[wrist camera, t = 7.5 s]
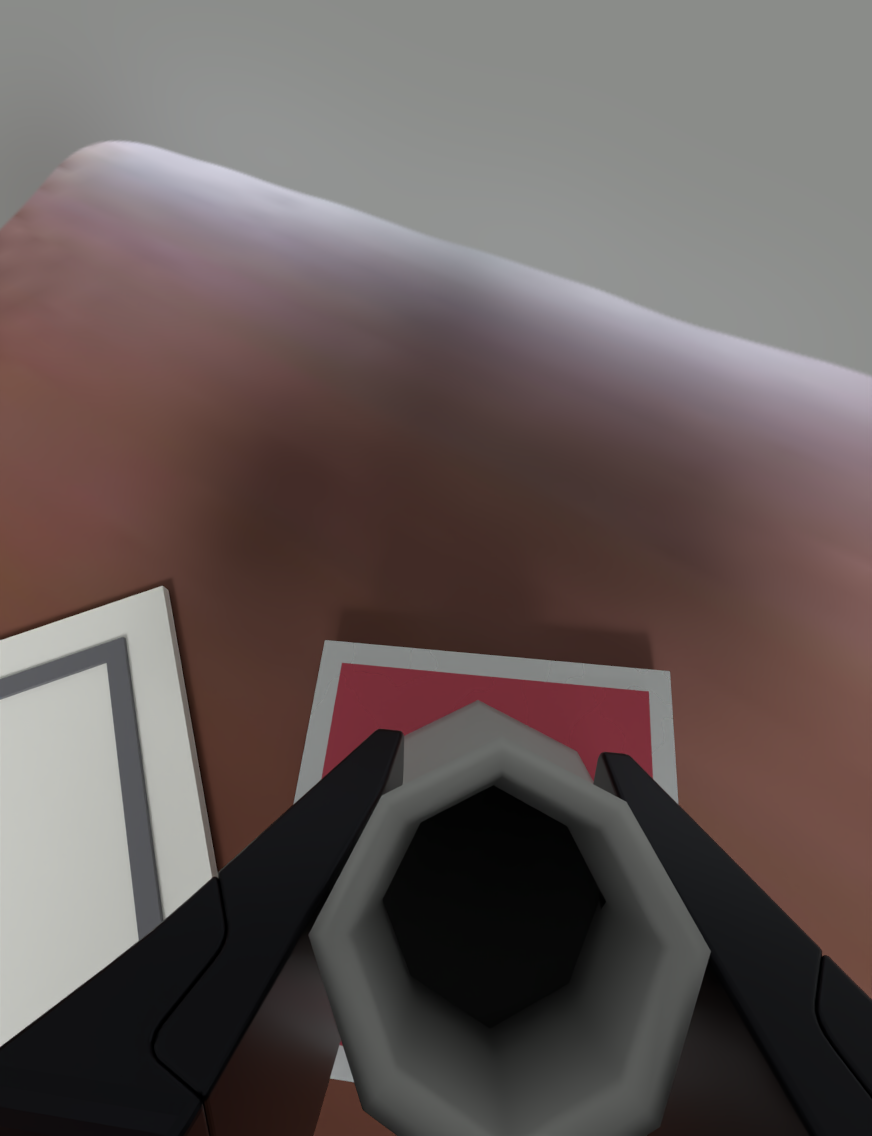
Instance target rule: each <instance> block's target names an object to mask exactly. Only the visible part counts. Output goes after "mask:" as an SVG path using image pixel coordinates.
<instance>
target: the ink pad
mask: <svg viewBox="0 0 872 1136" xmlns="http://www.w3.org/2000/svg"><path fill="white" fill-rule="evenodd" d="M477 700H479V701H481V702H483V703H485V704H487V705H489V706H491V707H493V708H495V709H496V710H498V711H500V712H502V713H504V714H506V715H508V716H510V717H512V718H514V719H516V720H518V721H520V722H521V723H523V724H525V725H527V726H529V727H531V728H533V729H535V730H537V731H539V732H541V733H543V734H545V735H546V736H548V737H550V738H552V739H554V740H556V741H558V742H560V743H562V744H564V745H566V746H568V747H570V748H571V749H573V750H575V751H577V752H578V754H579V756H580V758H581V760H582V761H583V763H584V765H585V767H586V769H587V771H588V772H589V774H590V776H591V778H592V780H593V781H594V777H595V771H596V766H597V761H598V757H599V755H600V754H601V753H602V752H614V753H623V754H628V755H629V756H631V757H632V758H633V759H634V760H635V761H636V762H637V763H638V764H639V765H640V766H641V767H642V768H643V769H644V770H645V771H646V772H647V773H648V774H649V775H650V776H651V777H652V778H653V779H654V780H655V781H656V782H657V783H658V784H659V785H660V786H661V787H662V789H663V790H664V791H665V792H666V793H667V794H668V795H669V796H670V797H671V798H672V799H673V800H674V801H675V802H676V803H677V804H678V791H677V775H676V760H675V744H674V728H673V712H672V696H671V681H670V671H662V670H651V669H639V668H628V667H617V666H606V665H595V664H584V663H573V662H562V661H551V660H540V659H529V658H518V657H507V656H496V655H485V654H474V653H463V652H452V651H441V650H429V649H418V648H407V647H396V646H385V645H374V644H363V643H352V642H341V641H330V640H325V643H324V648H323V653H322V658H321V663H320V669H319V674H318V679H317V684H316V690H315V695H314V700H313V705H312V710H311V716H310V721H309V726H308V731H307V736H306V742H305V747H304V752H303V757H302V763H301V768H300V773H299V778H298V783H297V789H296V794H295V799H294V804H295V803H296V802H297V801H298V800H299V799H300V798H301V797H302V796H303V795H304V794H306V793H307V792H308V791H309V790H310V789H311V788H312V787H313V786H314V785H316V784H317V783H318V782H319V781H320V780H321V779H322V778H323V777H324V776H326V775H327V774H328V773H329V772H330V771H331V770H332V769H333V768H334V767H336V766H337V765H338V764H339V763H340V762H341V761H342V760H343V759H344V758H346V757H347V756H348V755H349V754H350V753H351V752H352V751H353V750H354V749H355V748H357V747H358V746H359V745H360V744H361V743H362V742H363V741H364V740H365V739H367V738H368V737H369V736H370V735H371V734H372V733H373V732H374V731H376V730H377V729H390V730H399V731H402V732H403V734H404V736H405V735H407V734H409V733H411V732H413V731H415V730H417V729H419V728H421V727H423V726H425V725H427V724H430V723H432V722H434V721H436V720H438V719H440V718H442V717H444V716H446V715H448V714H450V713H452V712H454V711H456V710H458V709H460V708H462V707H464V706H466V705H469V704H471V703H473V702H475V701H477ZM330 1078H331V1079H337V1080H343V1081H350V1082H354V1080H353V1077H352V1073H351V1070H350V1067H349V1064H348V1061H347V1057H346V1054H345V1051H344V1048H343V1045H342V1041H340V1045H339V1048H338V1052H337V1055H336V1059H335V1062H334V1066H333V1069H332V1072H331V1076H330Z"/></svg>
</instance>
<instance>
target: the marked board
mask: <svg viewBox="0 0 872 1136" xmlns="http://www.w3.org/2000/svg"><path fill="white" fill-rule="evenodd" d="M212 877H217V878H218V873H217V867H216V861H215V855H214V850H213V844H212V838H211V832H210V827H209V821H208V815H207V809H206V804H205V798H204V792H203V786H202V780H201V775H200V769H199V763H198V757H197V752H196V746H195V740H194V734H193V729H192V723H191V717H190V711H189V706H188V700H187V694H186V688H185V683H184V677H183V671H182V665H181V660H180V654H179V648H178V642H177V637H176V631H175V625H174V619H173V614H172V608H171V602H170V596H169V591H168V589H166V588H165V587H164V586H160V587H157V588H154V589H151V590H148V591H145V592H142V593H139V594H136V595H133V596H130V597H128V598H125V599H122V600H119V601H116V602H113V603H110V604H107V605H104V606H101V607H98V608H95V609H92V610H89V611H86V612H83V613H80V614H77V615H74V616H71V617H68V618H65V619H62V620H59V621H56V622H53V623H50V624H48V625H45V626H42V627H39V628H36V629H33V630H30V631H27V632H24V633H21V634H18V635H15V636H12V637H9V638H6V639H3V640H0V1046H2V1045H3V1044H4V1043H6V1042H7V1041H8V1040H10V1039H11V1038H12V1037H13V1036H15V1035H16V1034H17V1033H19V1032H20V1031H21V1030H23V1029H24V1028H25V1027H27V1026H28V1025H29V1024H31V1023H32V1022H33V1021H35V1020H36V1019H37V1018H39V1017H40V1016H41V1015H43V1014H44V1013H45V1012H46V1011H48V1010H49V1009H50V1008H52V1007H53V1006H54V1005H56V1004H57V1003H58V1002H60V1001H61V1000H62V999H64V998H65V997H66V996H68V995H69V994H70V993H72V992H73V991H74V990H76V989H77V988H78V987H79V986H81V985H82V984H83V983H85V982H86V981H87V980H89V979H90V978H91V977H93V976H94V975H95V974H97V973H98V972H99V971H101V970H102V969H103V968H105V967H106V966H107V965H108V964H110V963H111V962H112V961H113V960H115V959H116V958H117V957H119V956H120V955H121V954H122V953H124V952H125V951H126V950H127V949H129V948H130V947H131V946H132V945H134V944H135V943H136V942H138V941H139V940H140V939H141V938H143V937H144V936H145V935H146V934H148V933H149V932H150V931H151V930H153V929H154V928H155V927H156V926H157V925H159V924H160V923H161V922H162V921H163V920H164V919H165V918H167V917H168V916H169V915H170V914H171V913H172V912H174V911H175V910H176V909H177V908H178V907H179V906H181V905H182V904H183V903H184V902H185V901H186V900H188V899H189V898H190V897H191V896H192V895H193V894H194V893H195V892H197V891H198V890H199V889H200V888H201V887H202V886H203V885H204V884H205V883H207V882H208V881H209V880H210V879H211V878H212Z"/></svg>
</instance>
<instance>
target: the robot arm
mask: <svg viewBox="0 0 872 1136" xmlns="http://www.w3.org/2000/svg"><path fill="white" fill-rule="evenodd" d="M403 772H404V734H403V732H402V731H399V730H390V729H377V730H376V731H374V732H373V733H372V734H371V735H370V736H369V737H368V738H367V739H365V740H364V741H363V742H362V743H361V744H360V745H359V746H358V747H357V748H355V749H354V750H353V751H352V752H351V753H350V754H349V755H348V756H347V757H346V758H344V759H343V760H342V761H341V762H340V763H339V764H338V765H337V766H336V767H334V768H333V769H332V770H331V771H330V772H329V773H328V774H327V775H326V776H324V777H323V778H322V779H321V780H320V781H319V782H318V783H317V784H316V785H314V786H313V787H312V788H311V789H310V790H309V791H308V792H307V793H306V794H304V795H303V796H302V797H301V798H300V799H299V800H298V801H297V802H296V803H295V804H293V805H292V806H291V807H290V808H289V809H288V810H287V811H286V812H285V813H283V814H282V815H281V816H280V817H279V818H278V819H277V820H276V821H275V822H273V823H272V824H271V825H270V826H269V827H268V828H267V829H266V830H265V831H263V832H262V833H261V834H260V835H259V836H258V837H257V838H256V839H255V840H253V841H252V842H251V843H250V844H249V845H248V846H247V847H246V848H245V849H243V850H242V851H241V852H240V853H239V854H238V855H237V856H236V857H235V858H234V859H232V860H231V861H230V862H229V863H228V864H227V865H226V866H225V867H224V868H222V869H221V870H220V871H219V872H218V878H217V877H212V878H211V879H210V880H209V881H208V882H207V883H205V884H204V885H203V886H202V887H201V888H200V889H199V890H198V891H197V892H195V893H194V894H193V895H192V896H191V897H190V898H189V899H188V900H186V901H185V902H184V903H183V904H182V905H181V906H179V907H178V908H177V909H176V910H175V911H174V912H172V913H171V914H170V915H169V916H168V917H167V918H165V919H164V920H163V921H162V922H161V923H160V924H159V925H157V926H156V927H155V928H154V929H153V930H151V931H150V932H149V933H148V934H146V935H145V936H144V937H143V938H141V939H140V940H139V941H138V942H136V943H135V944H134V945H132V946H131V947H130V948H129V949H127V950H126V951H125V952H124V953H122V954H121V955H120V956H119V957H117V958H116V959H115V960H113V961H112V962H111V963H110V964H108V965H107V966H106V967H105V968H103V969H102V970H101V971H99V972H98V973H97V974H95V975H94V976H93V977H91V978H90V979H89V980H87V981H86V982H85V983H83V984H82V985H81V986H79V987H78V988H77V989H76V990H74V991H73V992H72V993H70V994H69V995H68V996H66V997H65V998H64V999H62V1000H61V1001H60V1002H58V1003H57V1004H56V1005H54V1006H53V1007H52V1008H50V1009H49V1010H48V1011H46V1012H45V1013H44V1014H43V1015H41V1016H40V1017H39V1018H37V1019H36V1020H35V1021H33V1022H32V1023H31V1024H29V1025H28V1026H27V1027H25V1028H24V1029H23V1030H21V1031H20V1032H19V1033H17V1034H16V1035H15V1036H13V1037H12V1038H11V1039H10V1040H8V1041H7V1042H6V1043H4V1044H3V1045H2V1046H0V1136H313V1135H314V1131H315V1128H316V1124H317V1121H318V1117H319V1114H320V1110H321V1107H322V1104H323V1100H324V1097H325V1093H326V1090H327V1086H328V1083H329V1079H330V1076H331V1072H332V1069H333V1066H334V1062H335V1059H336V1055H337V1052H338V1048H339V1045H340V1041H341V1038H340V1035H339V1032H338V1029H337V1025H336V1022H335V1019H334V1016H333V1013H332V1009H331V1006H330V1003H329V1000H328V996H327V993H326V990H325V987H324V984H323V980H322V977H321V974H320V971H319V968H318V964H317V961H316V958H315V955H314V952H313V948H312V945H311V942H310V939H309V936H308V935H309V933H310V931H311V929H312V927H313V925H314V923H315V921H316V919H317V917H318V916H319V914H320V912H321V910H322V908H323V906H324V904H325V902H326V900H327V899H328V897H329V895H330V893H331V891H332V889H333V887H334V885H335V883H336V881H337V880H338V878H339V876H340V874H341V872H342V870H343V868H344V866H345V864H346V862H347V861H348V859H349V857H350V855H351V853H352V851H353V849H354V847H355V845H356V844H357V842H358V840H359V838H360V836H361V834H362V832H363V830H364V828H365V826H366V825H367V823H368V821H369V819H370V817H371V815H372V813H373V811H374V809H375V807H376V806H377V804H378V802H379V800H380V798H381V796H382V795H384V794H386V793H388V792H390V791H392V790H394V789H396V788H398V787H400V786H402V785H403ZM593 784H594V785H596V786H597V787H599V788H601V789H603V790H605V791H607V792H609V793H611V794H612V795H614V796H616V797H618V798H620V799H622V800H624V801H626V802H627V804H628V806H629V807H630V809H631V811H632V813H633V814H634V816H635V818H636V820H637V822H638V823H639V825H640V827H641V829H642V830H643V832H644V834H645V836H646V837H647V839H648V841H649V843H650V845H651V846H652V848H653V850H654V852H655V853H656V855H657V857H658V859H659V860H660V862H661V864H662V866H663V867H664V869H665V871H666V873H667V875H668V876H669V878H670V880H671V882H672V883H673V885H674V887H675V889H676V890H677V892H678V894H679V896H680V898H681V899H682V901H683V903H684V905H685V906H686V908H687V910H688V912H689V913H690V915H691V917H692V919H693V921H694V922H695V924H696V926H697V928H698V929H699V931H700V933H701V935H702V936H703V938H704V940H705V942H706V944H707V945H708V947H709V949H710V951H711V953H710V956H709V959H708V963H707V966H706V970H705V973H704V977H703V980H702V984H701V987H700V991H699V994H698V997H697V1001H696V1004H695V1008H694V1011H693V1015H692V1018H691V1022H690V1025H689V1029H688V1032H687V1036H686V1039H685V1042H684V1046H683V1049H682V1053H681V1056H680V1060H679V1063H678V1067H677V1070H676V1074H675V1077H674V1081H673V1084H672V1087H671V1091H670V1094H669V1098H668V1101H667V1105H666V1108H665V1112H664V1115H663V1119H662V1122H661V1126H660V1127H659V1128H658V1129H656V1130H654V1131H653V1132H651V1133H650V1134H648V1135H647V1136H872V999H871V998H870V997H869V996H868V995H867V994H866V993H865V992H864V991H863V990H862V989H861V988H859V987H858V986H857V985H856V984H855V982H854V981H853V980H852V979H851V978H850V977H849V976H848V975H847V974H846V973H845V972H844V971H843V970H842V969H841V968H840V967H839V966H838V965H837V964H836V963H835V962H834V961H833V960H832V959H831V958H830V957H829V956H826V955H824V956H822V950H821V949H820V947H819V946H818V945H817V944H816V943H815V942H814V941H813V940H812V939H811V938H810V937H809V936H808V935H807V934H806V933H805V932H804V931H803V930H802V929H801V928H800V927H799V926H798V925H797V924H796V923H795V922H794V921H793V920H792V919H791V918H790V917H789V916H788V915H787V914H786V913H785V912H784V911H783V910H782V909H781V908H780V907H779V906H778V905H777V904H776V903H775V902H774V901H773V900H772V899H771V898H770V897H769V896H768V895H767V894H766V893H765V892H764V891H763V890H762V889H761V888H760V887H759V886H758V885H757V884H756V883H755V882H754V881H753V880H752V879H751V878H750V877H749V876H748V875H747V874H746V873H745V872H744V870H743V869H742V868H741V867H740V866H739V865H738V864H737V863H736V862H735V861H734V860H733V859H732V858H731V857H730V856H729V855H728V854H727V853H726V852H725V851H724V850H723V849H722V848H721V847H720V846H719V845H718V844H717V843H716V842H715V841H714V840H713V839H712V838H711V837H710V836H709V835H708V834H707V833H706V832H705V831H704V830H703V829H702V828H701V827H700V826H699V825H698V824H697V823H696V822H695V821H694V820H693V819H692V818H691V817H690V816H689V815H688V814H687V813H686V812H685V811H684V810H683V809H682V808H681V807H680V806H679V805H678V804H677V803H676V802H675V801H674V800H673V799H672V798H671V797H670V796H669V795H668V794H667V793H666V792H665V791H664V790H663V789H662V787H661V786H660V785H659V784H658V783H657V782H656V781H655V780H654V779H653V778H652V777H651V776H650V775H649V774H648V773H647V772H646V771H645V770H644V769H643V768H642V767H641V766H640V765H639V764H638V763H637V762H636V761H635V760H634V759H633V758H632V757H631V756H629V755H628V754H623V753H614V752H602V753H601V754H600V755H599V757H598V761H597V766H596V771H595V777H594V782H593ZM598 889H599V887H598ZM599 898H600V907H601V909H602V907H603V906H604V904H605V903H606V900H605V898H604V896H603V894H602V893H601V891H600V889H599Z"/></svg>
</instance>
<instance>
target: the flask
mask: <svg viewBox="0 0 872 1136" xmlns="http://www.w3.org/2000/svg"><path fill="white" fill-rule="evenodd" d="M593 782H594V781H593V780H592V778H591V776H590V774H589V772H588V771H587V769H586V767H585V765H584V763H583V761H582V760H581V758H580V756H579V754H578V752H577V751H575V750H573V749H571V748H570V747H568V746H566V745H564V744H562V743H560V742H558V741H556V740H554V739H552V738H550V737H548V736H546V735H545V734H543V733H541V732H539V731H537V730H535V729H533V728H531V727H529V726H527V725H525V724H523V723H521V722H520V721H518V720H516V719H514V718H512V717H510V716H508V715H506V714H504V713H502V712H500V711H498V710H496V709H495V708H493V707H491V706H489V705H487V704H485V703H483V702H481V701H479V700H477V701H475V702H473V703H471V704H469V705H466V706H464V707H462V708H460V709H458V710H456V711H454V712H452V713H450V714H448V715H446V716H444V717H442V718H440V719H438V720H436V721H434V722H432V723H430V724H427V725H425V726H423V727H421V728H419V729H417V730H415V731H413V732H411V733H409V734H407V735H405V736H404V772H403V785H402V786H400V787H398V788H396V789H394V790H392V791H390V792H388V793H386V794H384V795H382V796H381V798H380V800H379V802H378V804H377V806H376V807H375V809H374V811H373V813H372V815H371V817H370V819H369V821H368V823H367V825H366V826H365V828H364V830H363V832H362V834H361V836H360V838H359V840H358V842H357V844H356V845H355V847H354V849H353V851H352V853H351V855H350V857H349V859H348V861H347V862H346V864H345V866H344V868H343V870H342V872H341V874H340V876H339V878H338V880H337V881H336V883H335V885H334V887H333V889H332V891H331V893H330V895H329V897H328V899H327V900H326V902H325V904H324V906H323V908H322V910H321V912H320V914H319V916H318V917H317V919H316V921H315V923H314V925H313V927H312V929H311V931H310V933H309V935H308V936H309V939H310V942H311V945H312V948H313V952H314V955H315V958H316V961H317V964H318V968H319V971H320V974H321V977H322V980H323V984H324V987H325V990H326V993H327V996H328V1000H329V1003H330V1006H331V1009H332V1013H333V1016H334V1019H335V1022H336V1025H337V1029H338V1032H339V1035H340V1038H341V1041H342V1045H343V1048H344V1051H345V1054H346V1057H347V1061H348V1064H349V1067H350V1070H351V1073H352V1077H353V1080H354V1083H355V1086H356V1090H357V1093H358V1096H359V1099H360V1102H361V1106H362V1109H363V1110H364V1111H365V1112H366V1113H368V1114H369V1115H370V1116H372V1117H373V1118H374V1119H376V1120H377V1121H378V1122H380V1123H381V1124H382V1125H384V1126H385V1127H386V1128H388V1129H389V1130H390V1131H392V1132H393V1133H394V1134H396V1135H397V1136H647V1135H648V1134H650V1133H651V1132H653V1131H654V1130H656V1129H658V1128H659V1127H660V1126H661V1122H662V1119H663V1115H664V1112H665V1108H666V1105H667V1101H668V1098H669V1094H670V1091H671V1087H672V1084H673V1081H674V1077H675V1074H676V1070H677V1067H678V1063H679V1060H680V1056H681V1053H682V1049H683V1046H684V1042H685V1039H686V1036H687V1032H688V1029H689V1025H690V1022H691V1018H692V1015H693V1011H694V1008H695V1004H696V1001H697V997H698V994H699V991H700V987H701V984H702V980H703V977H704V973H705V970H706V966H707V963H708V959H709V956H710V953H711V951H710V949H709V947H708V945H707V944H706V942H705V940H704V938H703V936H702V935H701V933H700V931H699V929H698V928H697V926H696V924H695V922H694V921H693V919H692V917H691V915H690V913H689V912H688V910H687V908H686V906H685V905H684V903H683V901H682V899H681V898H680V896H679V894H678V892H677V890H676V889H675V887H674V885H673V883H672V882H671V880H670V878H669V876H668V875H667V873H666V871H665V869H664V867H663V866H662V864H661V862H660V860H659V859H658V857H657V855H656V853H655V852H654V850H653V848H652V846H651V845H650V843H649V841H648V839H647V837H646V836H645V834H644V832H643V830H642V829H641V827H640V825H639V823H638V822H637V820H636V818H635V816H634V814H633V813H632V811H631V809H630V807H629V806H628V804H627V802H626V801H624V800H622V799H620V798H618V797H616V796H614V795H612V794H611V793H609V792H607V791H605V790H603V789H601V788H599V787H597V786H596V785H594V784H593ZM598 887H599V889H600V891H601V893H602V894H603V896H604V898H605V900H606V903H605V904H604V906H603V907H602V909H601V907H600V898H599V889H598Z"/></svg>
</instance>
